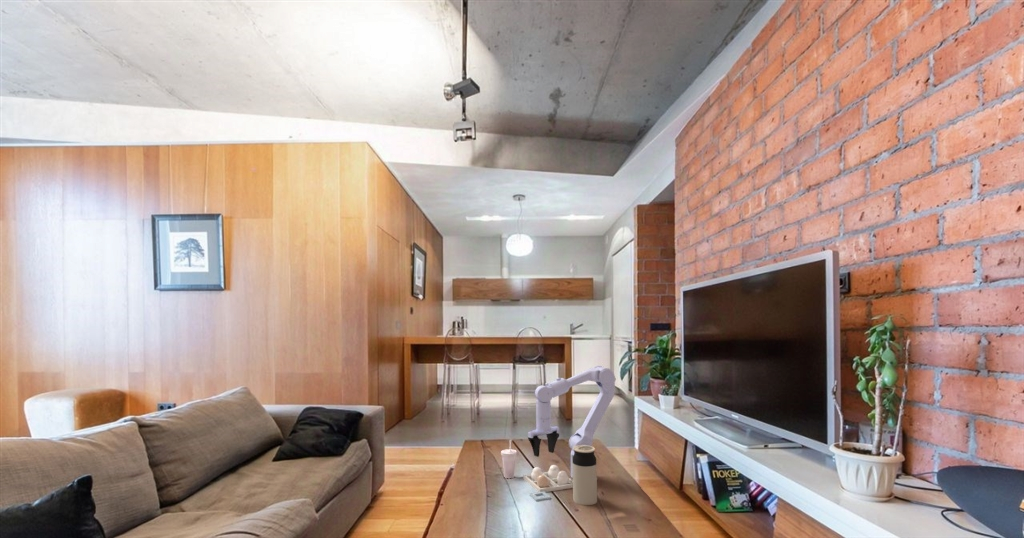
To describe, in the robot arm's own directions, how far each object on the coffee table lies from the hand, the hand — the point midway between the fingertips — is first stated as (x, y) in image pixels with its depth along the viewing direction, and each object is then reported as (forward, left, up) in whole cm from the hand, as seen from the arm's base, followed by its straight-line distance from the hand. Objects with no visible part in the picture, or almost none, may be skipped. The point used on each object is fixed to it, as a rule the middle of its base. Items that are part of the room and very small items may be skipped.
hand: (543, 454), depth 175 cm
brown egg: (+4, +9, -9) cm, 13 cm away
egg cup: (+9, +16, -10) cm, 21 cm away
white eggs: (0, +5, -10) cm, 11 cm away
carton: (0, +5, -10) cm, 11 cm away
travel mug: (-4, +24, -10) cm, 26 cm away
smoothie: (+11, -9, -10) cm, 17 cm away
